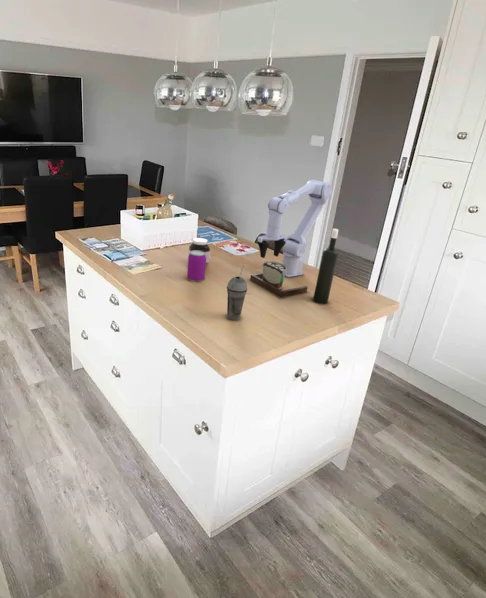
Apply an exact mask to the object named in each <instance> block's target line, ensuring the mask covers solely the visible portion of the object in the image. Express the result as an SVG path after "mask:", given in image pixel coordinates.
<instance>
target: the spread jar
mask: <svg viewBox="0 0 486 598" xmlns="http://www.w3.org/2000/svg"><path fill="white" fill-rule="evenodd" d="M194 250H199V251H203V252H205V256H206V265H207V264H208V263H209V262H210V258H211V248H210V246H209V244H208V239H207V238H203V237H195V238H193V239H192V243H191V244H190V245H189V246H188V252H187V254H188V255H187V257H188V256H189V254H190V252H191V251H194Z"/></svg>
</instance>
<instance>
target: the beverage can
mask: <svg viewBox="0 0 486 598" xmlns="http://www.w3.org/2000/svg"><path fill="white" fill-rule="evenodd" d="M206 265H207V264H206V256H205V252H203V251H199V250H194V251H191V252H190V254H189V256H188V255H187V271H186V272H187V273H186V278H187V279H188V280H189V281H191V282H196V283H197V282H202V281H203V280H204V279H205V277H206V267H207V266H206Z"/></svg>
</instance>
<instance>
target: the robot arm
mask: <svg viewBox="0 0 486 598" xmlns="http://www.w3.org/2000/svg"><path fill="white" fill-rule="evenodd" d="M332 193H333V186H332V184H331V183H330V182H326V181H320V180H317V179H313V178H312V179H310V180H308V181H307V182H306V183H305V185H303V186H301V187H299V188H298V189H297V190H290V189H289V190H288V191H287V192H286V193H284V194H280V195H279V196H278V197H277V196H274V197H272V198H271V199H270V200H269V202H268V203H267V208H268V215H269V216H268V221H267V227H266V232H265V234H264V235H260V236H258V237H257V245H258V248H259V254H260V258H262V259H265V258H266V255H267V250H268V248H269V246H270V243H268V242H274V248H273V256H274V257H279V254H280V253H281V251H282V254H283V256H282V262H281V264H284V265H285V266H286V267H287V274H285V276H284V277H286V278H292V277H297V276H303V275H304V273H303V268H304V262H305V260H304V257H303V255H304V254H305V250H306V248H307V246H308V243H307V240H306V237H307V236H308V234H309V233H310V231H311V228H312V227H313V225H314V224H315V222H316V221H317V219H318V217H319V215H320V213H321V212H322V211H323V208H324V207H325V205H326V204H327V202H328V200H329V198H330V197H331V195H332ZM306 196H308V198H309V200H310V201H311V202H310V203H311V204H310V206H309V207H308V209H307V210H306V211H305V214H304V215H303V218H302V219H301V221H300V222H299V224H298V226H297V228H296V229H295V231H294V233H292V234H291V233H290V234H288V235H286V234H281V231H282V230H281V229H282V223H283V219H284V214H285V213H286V212H287V211H288V209H290V207H292V206H294V205H295V204H297V203H299V199H301V198H304V197H306Z"/></svg>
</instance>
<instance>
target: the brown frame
mask: <svg viewBox="0 0 486 598" xmlns="http://www.w3.org/2000/svg"><path fill="white" fill-rule="evenodd" d="M249 278H250V279H249V280H250V281H251V282H253V283H255V284H256V285H258V286H260V287H261V288H263V289H264V290H266V291H268V292H270V293H272V294H274V295H275V296H277V297H279V298H286V297H290V296H295V295H300V294H305V293H307V292H308V288H309V287H308V286H307V285H304V286H298V287H293V288H289V289H288V288H287V289H284V290H282V289H281V290H280V289H278V288H276V287H274V286H273V285H271V284H269V283H267V282H266V281H264V280H262V279H263V272H260V273H252V274H250V277H249Z"/></svg>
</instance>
